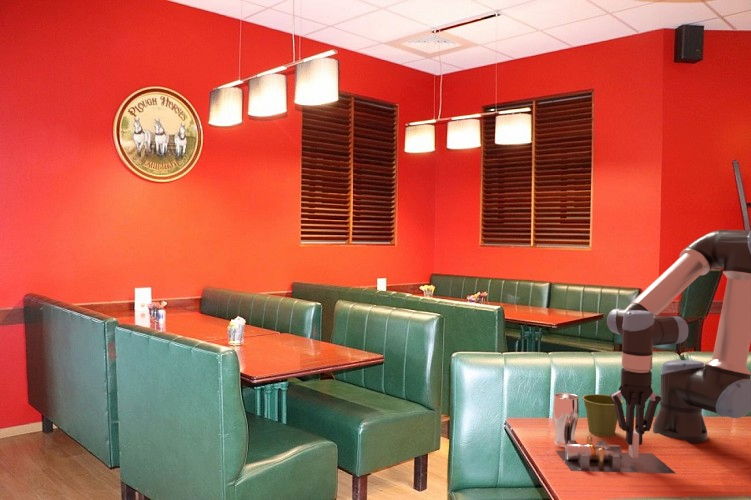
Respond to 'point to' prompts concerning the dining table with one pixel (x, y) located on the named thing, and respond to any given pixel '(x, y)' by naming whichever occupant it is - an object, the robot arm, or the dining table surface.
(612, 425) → the plant pot
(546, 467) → the dining table surface
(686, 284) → the robot arm
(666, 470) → the steam engine
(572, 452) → the tube
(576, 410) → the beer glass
